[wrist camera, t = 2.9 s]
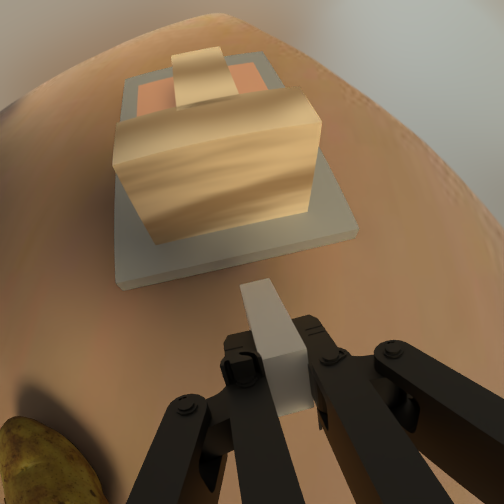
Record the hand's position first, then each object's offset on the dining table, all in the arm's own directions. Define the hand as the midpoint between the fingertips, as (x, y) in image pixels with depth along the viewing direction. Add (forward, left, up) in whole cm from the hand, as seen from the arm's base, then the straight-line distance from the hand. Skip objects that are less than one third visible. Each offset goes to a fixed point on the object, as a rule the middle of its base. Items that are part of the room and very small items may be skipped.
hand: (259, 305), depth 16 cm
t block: (-13, +6, -5) cm, 15 cm away
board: (-19, +9, -7) cm, 22 cm away
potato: (+1, -19, -7) cm, 20 cm away
